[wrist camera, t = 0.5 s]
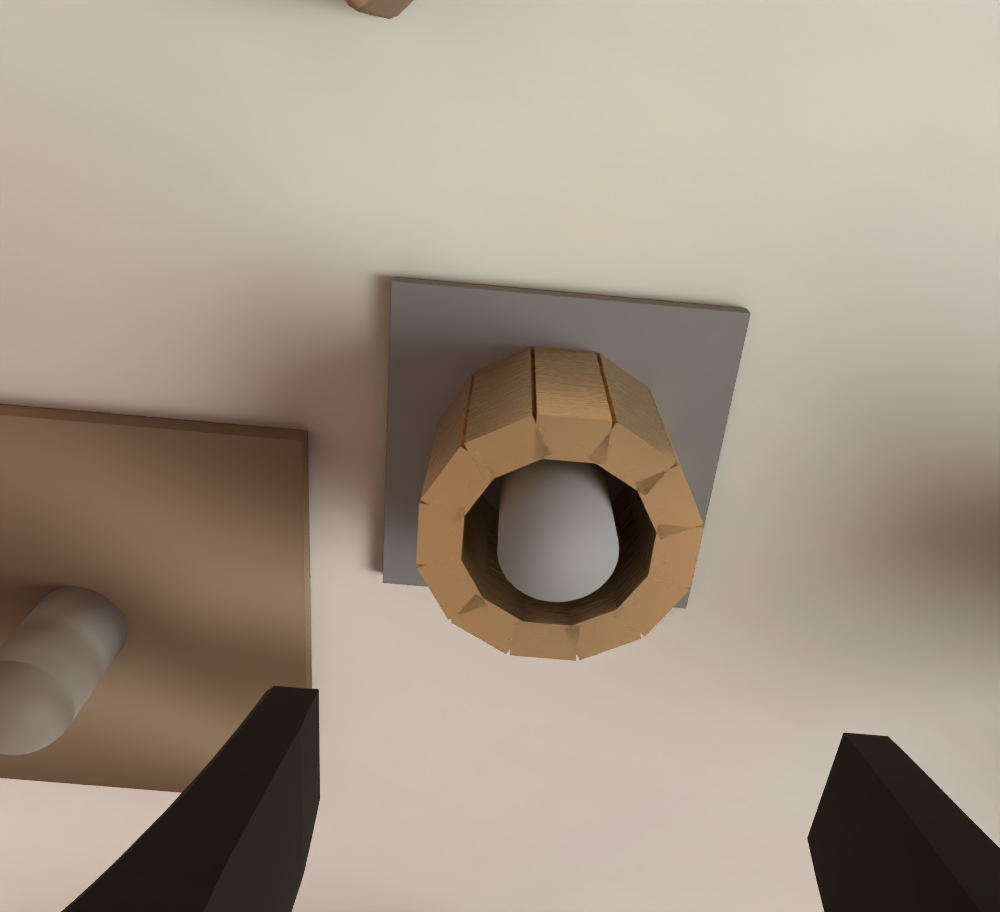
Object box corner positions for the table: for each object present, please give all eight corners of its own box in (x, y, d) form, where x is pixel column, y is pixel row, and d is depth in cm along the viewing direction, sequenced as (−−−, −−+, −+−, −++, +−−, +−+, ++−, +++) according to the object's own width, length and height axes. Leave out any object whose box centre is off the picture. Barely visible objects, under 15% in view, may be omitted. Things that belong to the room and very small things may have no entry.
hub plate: (313, 787, 26) (271, 934, 22) (-80, 754, 26) (-202, 897, 21) (307, 431, 21) (250, 530, 16) (-186, 388, 21) (-374, 477, 16)
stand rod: (683, 599, 23) (719, 722, 18) (385, 574, 22) (353, 692, 18) (746, 308, 19) (808, 379, 15) (393, 277, 19) (358, 339, 15)
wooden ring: (647, 566, 22) (673, 668, 18) (430, 547, 22) (411, 646, 18) (687, 359, 19) (724, 430, 16) (442, 338, 19) (424, 404, 16)
